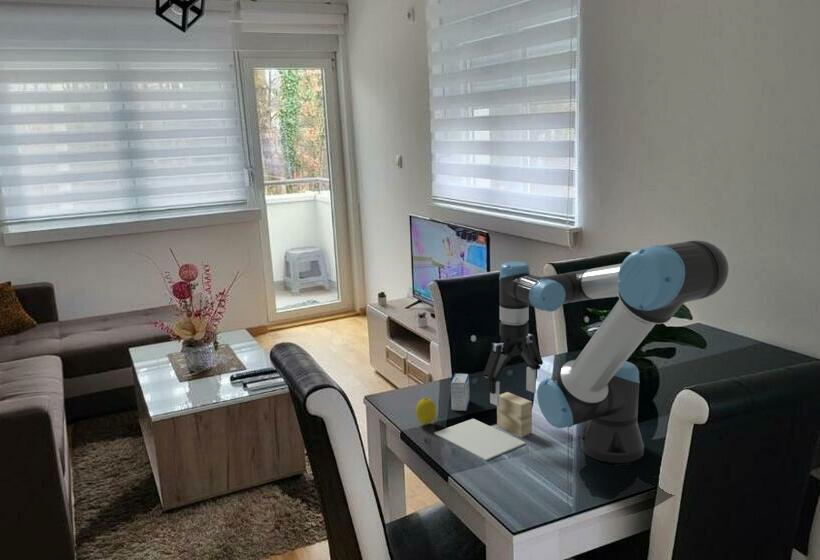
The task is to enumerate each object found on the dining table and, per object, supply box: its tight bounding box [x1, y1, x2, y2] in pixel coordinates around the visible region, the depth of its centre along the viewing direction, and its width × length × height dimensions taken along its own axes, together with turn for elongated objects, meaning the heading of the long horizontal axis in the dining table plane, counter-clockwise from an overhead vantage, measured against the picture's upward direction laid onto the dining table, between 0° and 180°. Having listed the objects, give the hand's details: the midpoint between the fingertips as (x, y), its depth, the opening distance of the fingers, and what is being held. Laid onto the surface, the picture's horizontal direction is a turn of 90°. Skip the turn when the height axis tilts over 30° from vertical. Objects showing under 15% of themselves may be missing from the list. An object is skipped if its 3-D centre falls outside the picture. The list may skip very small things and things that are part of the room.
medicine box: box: [450, 373, 470, 412], centre depth 195 cm, size 8×4×9 cm, turn 168°
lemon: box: [415, 397, 437, 426], centre depth 183 cm, size 6×6×8 cm
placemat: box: [433, 418, 526, 462], centre depth 174 cm, size 20×14×1 cm
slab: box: [496, 391, 533, 438], centre depth 178 cm, size 9×4×9 cm, turn 37°
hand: (513, 397), depth 177 cm, fingers open, 13 cm apart
